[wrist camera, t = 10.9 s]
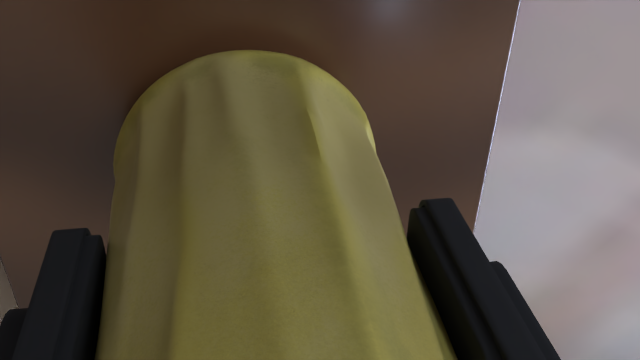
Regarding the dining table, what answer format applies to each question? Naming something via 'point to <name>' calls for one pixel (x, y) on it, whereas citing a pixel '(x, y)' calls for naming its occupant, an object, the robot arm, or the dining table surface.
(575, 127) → the dining table surface
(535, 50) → the dining table surface
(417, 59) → the serving board
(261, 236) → the vase
